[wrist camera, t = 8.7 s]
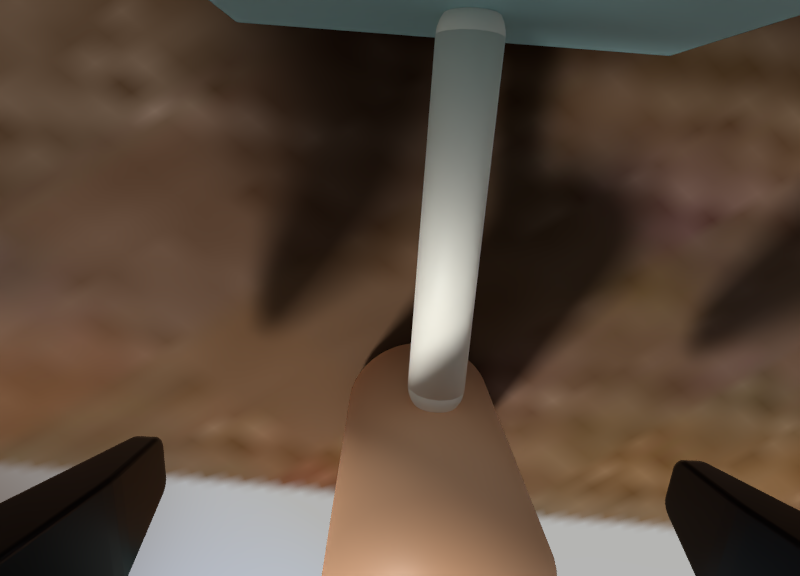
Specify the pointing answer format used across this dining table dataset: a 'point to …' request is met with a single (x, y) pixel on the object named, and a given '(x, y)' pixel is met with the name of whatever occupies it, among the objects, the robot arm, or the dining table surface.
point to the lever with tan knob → (463, 284)
